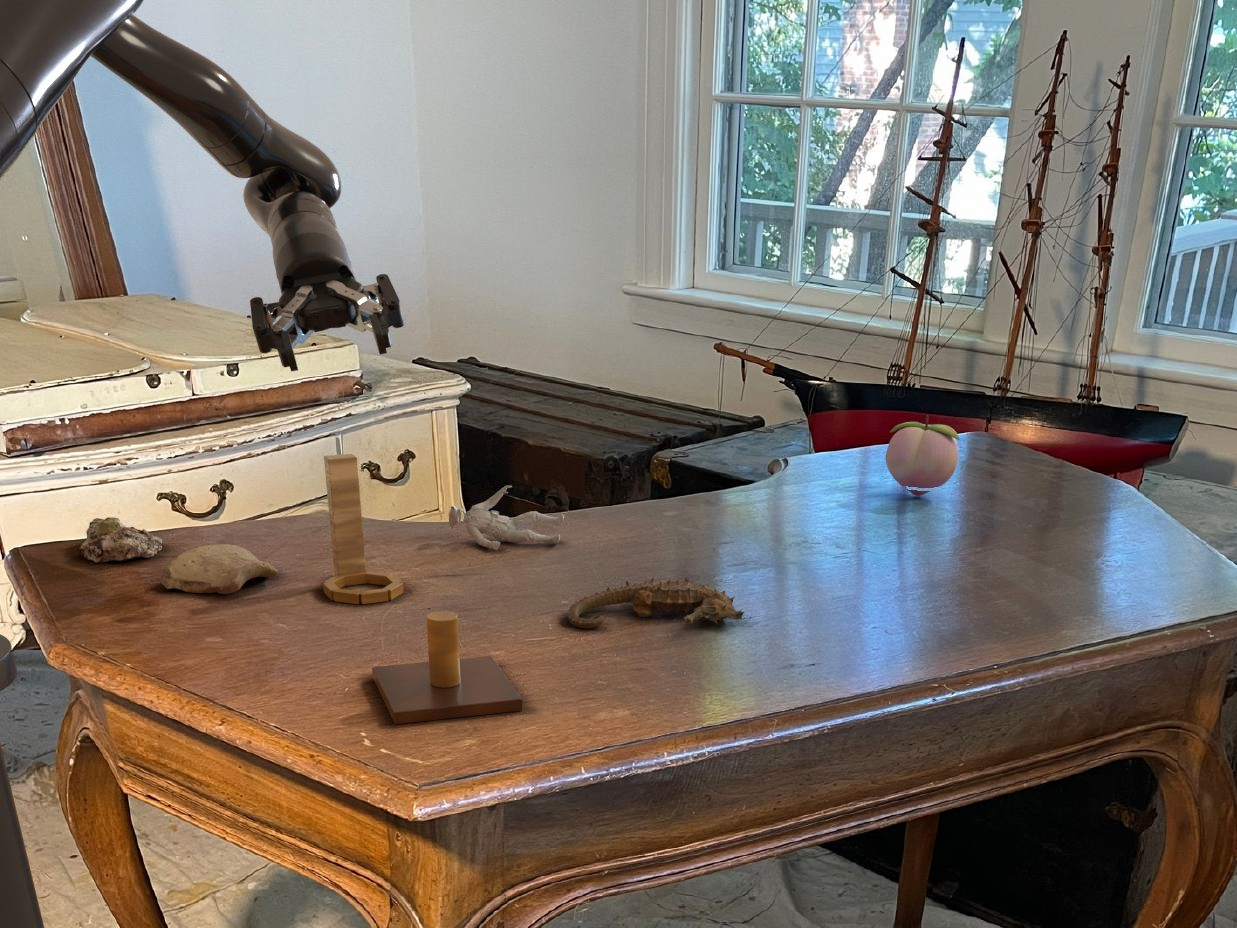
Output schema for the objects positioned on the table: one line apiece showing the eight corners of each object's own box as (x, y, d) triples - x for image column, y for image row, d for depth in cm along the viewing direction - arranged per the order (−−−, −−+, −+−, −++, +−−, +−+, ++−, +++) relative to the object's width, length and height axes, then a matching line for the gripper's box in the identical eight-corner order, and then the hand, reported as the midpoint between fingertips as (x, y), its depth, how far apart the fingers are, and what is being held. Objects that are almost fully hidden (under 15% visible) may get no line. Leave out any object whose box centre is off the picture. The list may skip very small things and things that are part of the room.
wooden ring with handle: (411, 598, 125) (403, 471, 119) (338, 607, 121) (326, 477, 116) (383, 573, 131) (374, 452, 125) (312, 581, 128) (300, 457, 122)
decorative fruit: (960, 493, 170) (972, 414, 165) (946, 506, 163) (957, 424, 158) (890, 484, 173) (900, 406, 168) (873, 497, 166) (883, 416, 161)
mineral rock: (178, 534, 133) (96, 523, 127) (173, 577, 134) (92, 567, 129) (143, 515, 140) (65, 503, 135) (139, 555, 141) (61, 545, 136)
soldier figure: (555, 562, 140) (447, 528, 137) (544, 582, 144) (439, 549, 141) (568, 500, 142) (462, 465, 139) (557, 521, 147) (453, 487, 143)
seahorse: (576, 597, 126) (576, 566, 125) (742, 605, 126) (744, 574, 124) (564, 629, 118) (564, 596, 117) (742, 638, 118) (744, 605, 116)
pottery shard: (156, 603, 125) (226, 596, 120) (144, 557, 124) (214, 548, 118) (241, 582, 134) (309, 575, 128) (230, 539, 132) (299, 530, 127)
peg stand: (394, 724, 98) (388, 642, 95) (372, 678, 106) (366, 601, 103) (522, 710, 101) (521, 631, 98) (491, 666, 109) (489, 591, 106)
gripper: (232, 244, 128) (251, 331, 119) (374, 218, 130) (404, 303, 121) (253, 315, 134) (273, 403, 125) (389, 289, 136) (418, 375, 127)
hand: (337, 354), depth 123 cm, fingers open, 8 cm apart
